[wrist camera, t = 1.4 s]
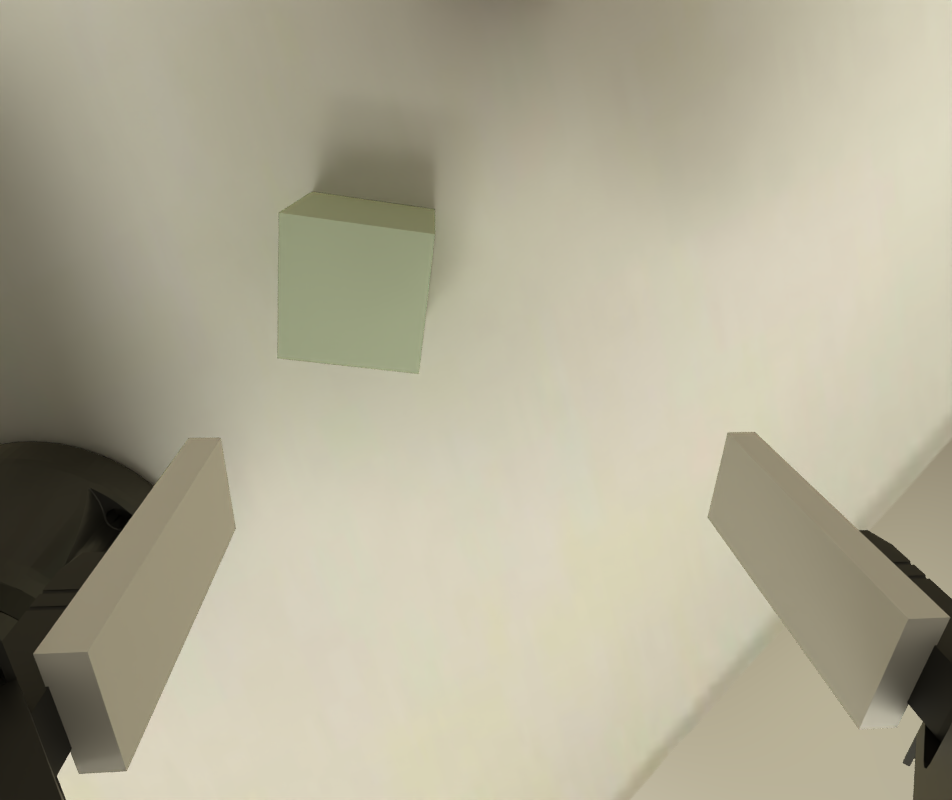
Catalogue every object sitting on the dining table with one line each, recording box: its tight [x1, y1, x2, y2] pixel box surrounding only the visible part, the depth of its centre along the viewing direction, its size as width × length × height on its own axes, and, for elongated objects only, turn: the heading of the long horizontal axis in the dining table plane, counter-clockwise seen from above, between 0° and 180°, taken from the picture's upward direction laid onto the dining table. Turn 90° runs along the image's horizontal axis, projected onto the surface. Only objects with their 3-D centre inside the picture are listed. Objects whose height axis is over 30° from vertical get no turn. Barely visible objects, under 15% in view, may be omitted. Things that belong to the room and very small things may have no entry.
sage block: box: [277, 192, 435, 374], centre depth 28 cm, size 6×6×7 cm
